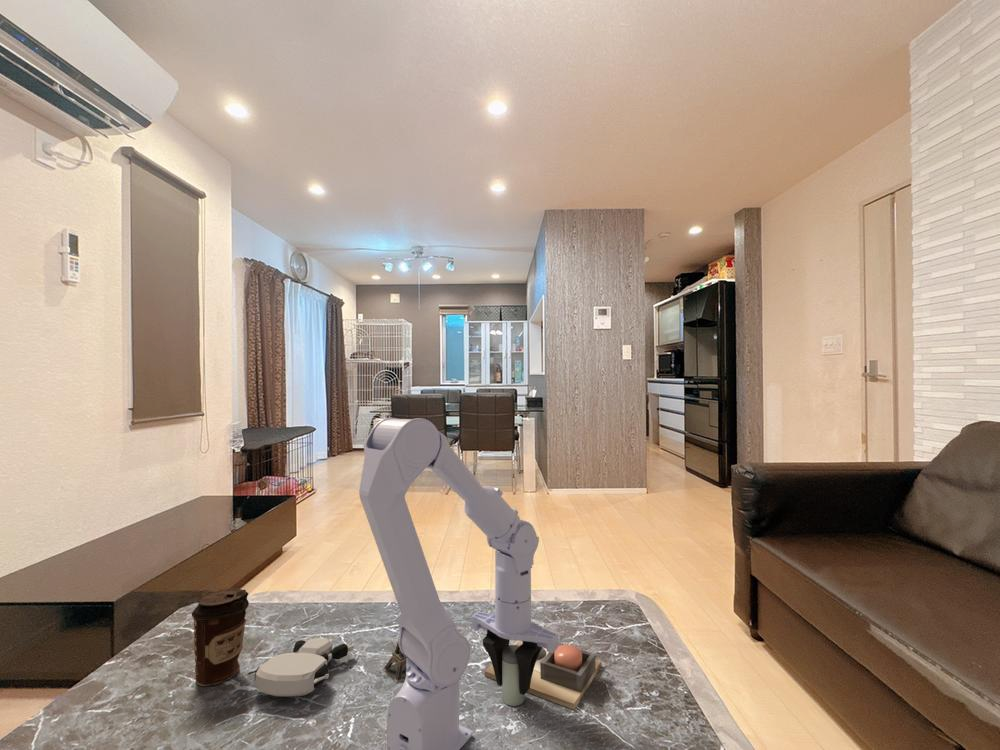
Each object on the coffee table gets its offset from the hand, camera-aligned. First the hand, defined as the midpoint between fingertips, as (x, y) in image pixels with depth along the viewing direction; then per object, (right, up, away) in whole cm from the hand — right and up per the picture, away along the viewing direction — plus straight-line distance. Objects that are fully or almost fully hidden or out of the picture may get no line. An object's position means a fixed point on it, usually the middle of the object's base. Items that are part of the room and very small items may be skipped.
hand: (513, 686), depth 67 cm
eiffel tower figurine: (-18, -3, +7) cm, 20 cm away
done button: (+9, 0, +5) cm, 11 cm away
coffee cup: (-50, -3, +6) cm, 50 cm away
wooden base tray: (+5, -2, +7) cm, 9 cm away
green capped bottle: (0, -2, 0) cm, 2 cm away
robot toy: (-35, -3, +5) cm, 36 cm away
